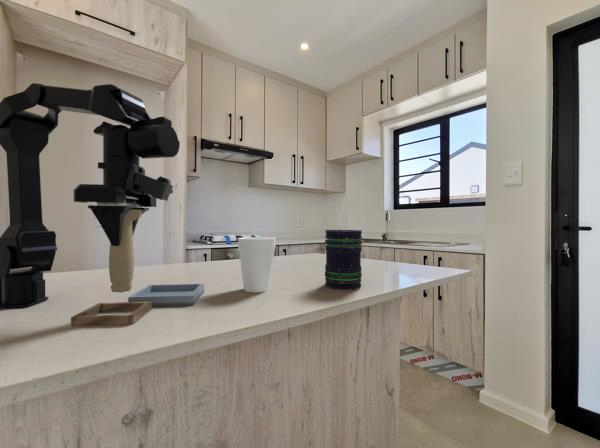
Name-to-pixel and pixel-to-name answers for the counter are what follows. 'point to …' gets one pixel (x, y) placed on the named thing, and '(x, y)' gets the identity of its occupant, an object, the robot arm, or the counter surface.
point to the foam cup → (256, 262)
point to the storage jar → (343, 259)
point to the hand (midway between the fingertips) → (121, 244)
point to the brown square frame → (92, 319)
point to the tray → (169, 294)
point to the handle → (123, 256)
